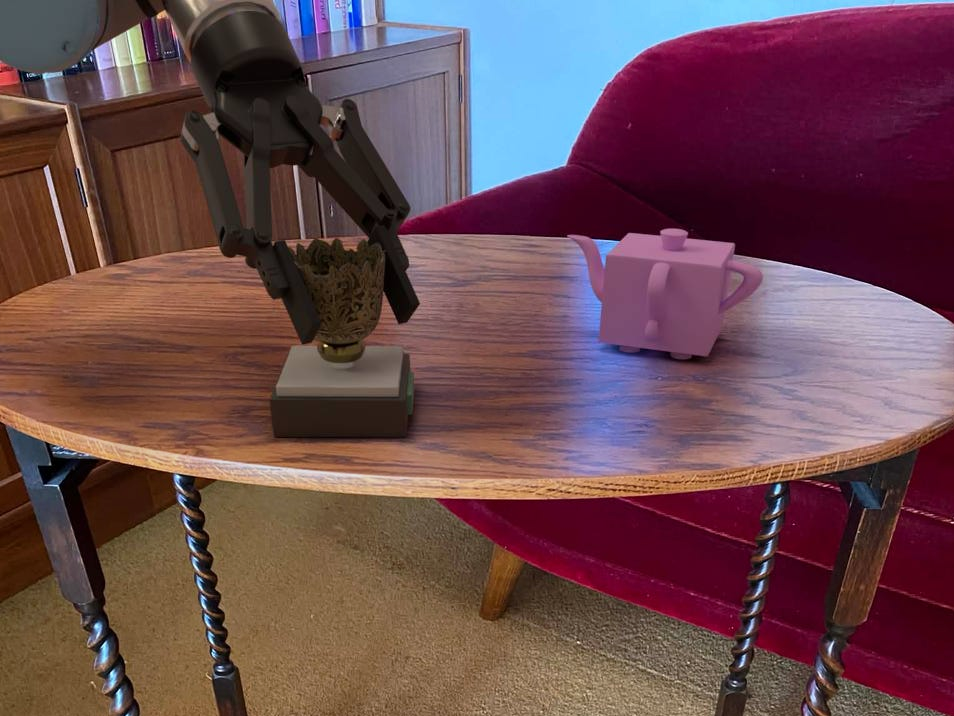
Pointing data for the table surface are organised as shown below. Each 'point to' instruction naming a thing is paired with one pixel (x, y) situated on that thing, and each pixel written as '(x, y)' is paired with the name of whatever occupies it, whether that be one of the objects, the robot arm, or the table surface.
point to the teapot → (665, 291)
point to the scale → (343, 394)
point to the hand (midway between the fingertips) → (361, 323)
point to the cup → (343, 294)
